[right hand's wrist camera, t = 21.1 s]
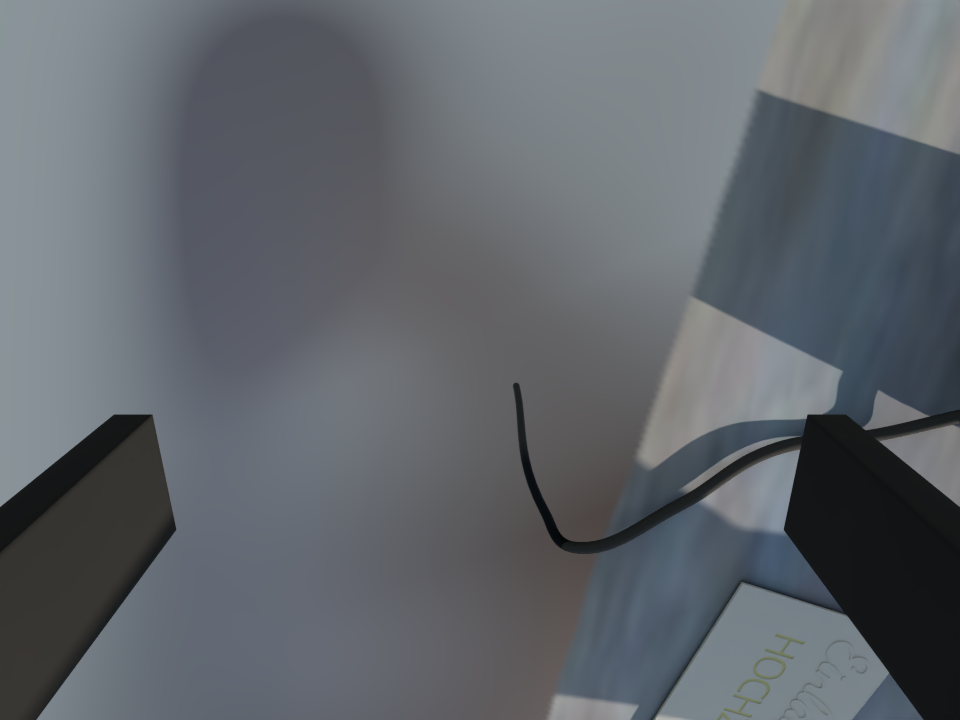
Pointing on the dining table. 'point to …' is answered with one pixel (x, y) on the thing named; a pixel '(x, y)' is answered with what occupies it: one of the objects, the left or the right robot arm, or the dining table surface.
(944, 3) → the dining table surface
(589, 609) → the dining table surface
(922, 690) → the right robot arm
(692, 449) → the dining table surface
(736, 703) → the invitation card
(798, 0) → the dining table surface
